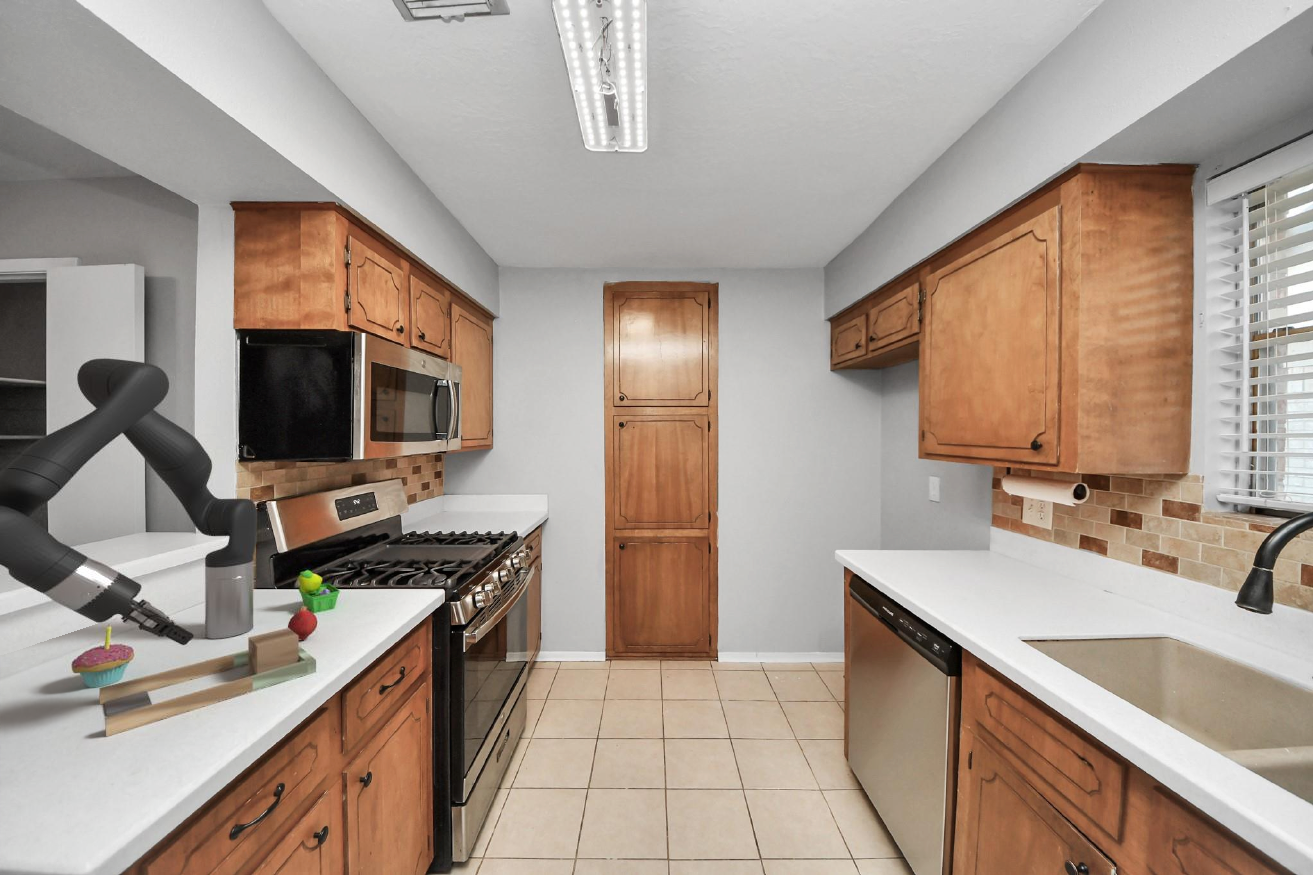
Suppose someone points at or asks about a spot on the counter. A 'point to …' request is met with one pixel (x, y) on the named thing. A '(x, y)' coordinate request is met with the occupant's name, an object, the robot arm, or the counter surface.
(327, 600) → the fruit basket
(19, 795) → the counter surface
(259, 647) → the walnut block
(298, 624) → the onion
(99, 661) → the cupcake
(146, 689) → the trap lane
